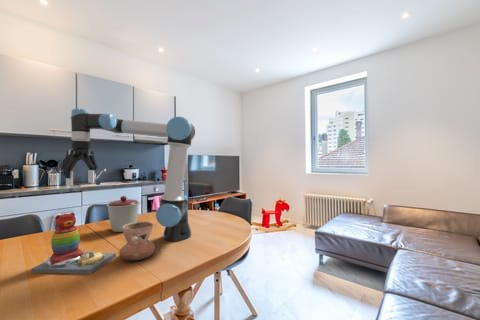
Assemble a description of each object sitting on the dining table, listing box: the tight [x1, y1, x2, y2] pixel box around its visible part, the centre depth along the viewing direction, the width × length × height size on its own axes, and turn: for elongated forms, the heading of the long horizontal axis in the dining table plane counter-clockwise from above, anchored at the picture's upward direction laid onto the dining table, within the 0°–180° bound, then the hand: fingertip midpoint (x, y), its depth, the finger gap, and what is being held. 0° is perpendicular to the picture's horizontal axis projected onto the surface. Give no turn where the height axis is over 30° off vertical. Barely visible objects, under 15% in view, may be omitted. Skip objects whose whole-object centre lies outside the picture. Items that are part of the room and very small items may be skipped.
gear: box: [42, 248, 89, 269], centre depth 91 cm, size 15×15×2 cm
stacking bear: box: [50, 212, 84, 263], centre depth 91 cm, size 11×10×18 cm
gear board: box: [30, 250, 117, 275], centre depth 91 cm, size 24×15×5 cm, turn 87°
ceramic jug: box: [118, 221, 156, 262], centre depth 97 cm, size 18×14×14 cm
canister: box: [106, 195, 140, 233], centre depth 136 cm, size 18×18×21 cm
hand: (81, 183), depth 107 cm, fingers open, 13 cm apart
